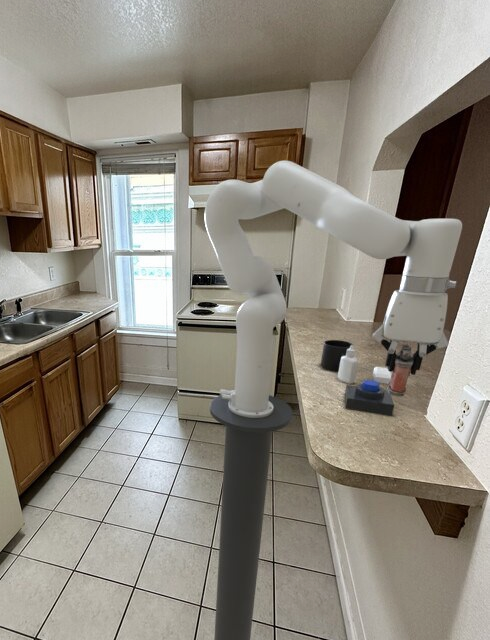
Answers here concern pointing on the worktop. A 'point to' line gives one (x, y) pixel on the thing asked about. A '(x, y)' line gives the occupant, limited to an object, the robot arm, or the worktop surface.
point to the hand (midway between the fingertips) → (400, 370)
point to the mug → (333, 354)
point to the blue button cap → (370, 385)
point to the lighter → (400, 372)
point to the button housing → (368, 400)
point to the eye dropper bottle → (348, 367)
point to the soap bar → (381, 375)
